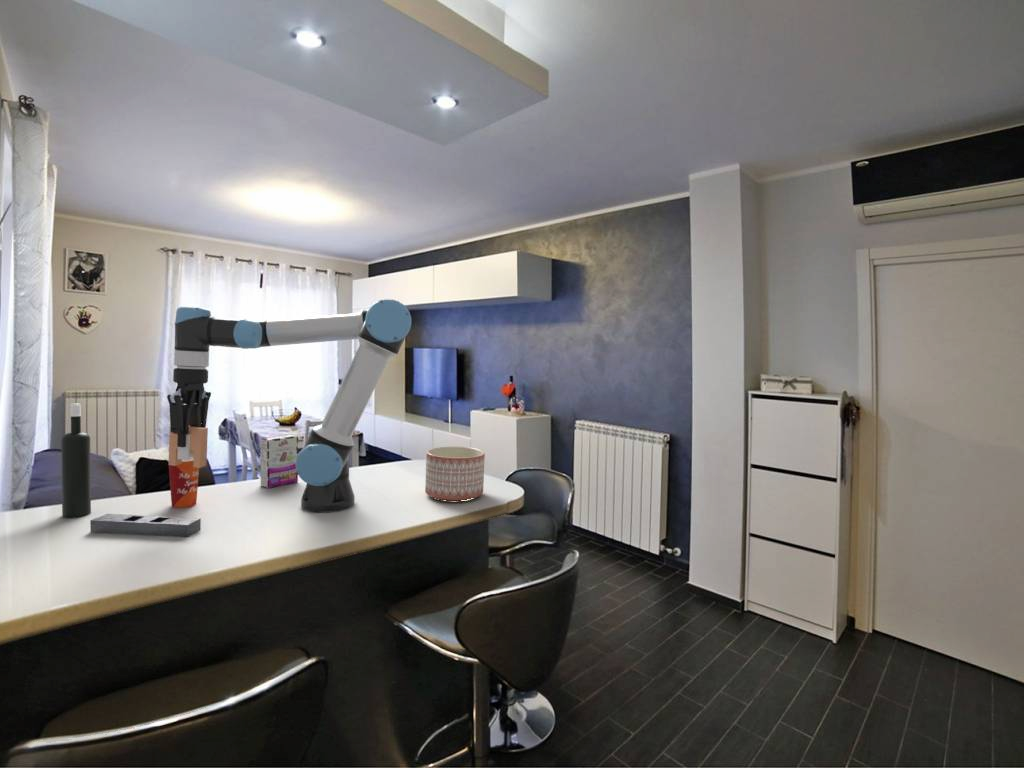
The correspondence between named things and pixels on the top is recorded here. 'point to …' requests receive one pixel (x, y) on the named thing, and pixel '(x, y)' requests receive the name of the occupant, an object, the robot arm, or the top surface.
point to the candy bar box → (278, 460)
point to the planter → (454, 473)
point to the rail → (145, 525)
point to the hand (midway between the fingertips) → (187, 457)
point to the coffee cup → (183, 483)
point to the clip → (196, 443)
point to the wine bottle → (76, 468)
